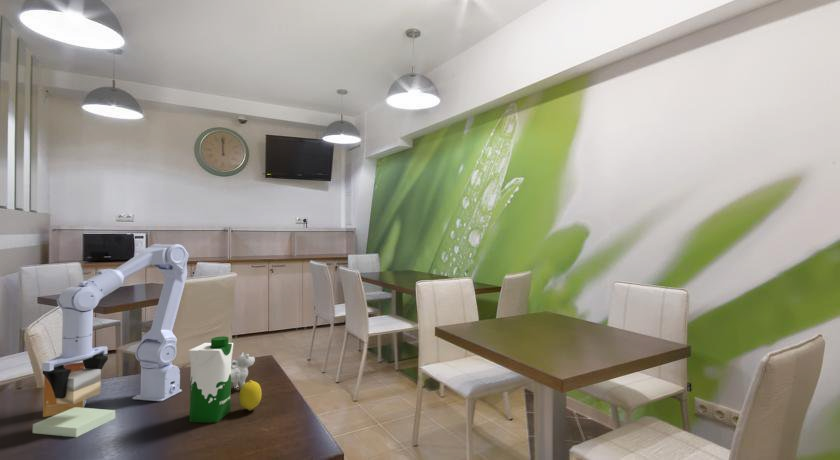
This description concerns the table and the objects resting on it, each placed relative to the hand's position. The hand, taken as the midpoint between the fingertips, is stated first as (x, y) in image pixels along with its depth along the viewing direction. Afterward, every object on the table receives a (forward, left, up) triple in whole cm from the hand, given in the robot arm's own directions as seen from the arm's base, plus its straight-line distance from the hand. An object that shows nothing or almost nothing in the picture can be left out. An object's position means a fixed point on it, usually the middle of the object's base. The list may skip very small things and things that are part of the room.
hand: (76, 391), depth 100 cm
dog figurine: (-24, -27, -8) cm, 37 cm away
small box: (+11, -7, -8) cm, 16 cm away
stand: (0, 0, -8) cm, 8 cm away
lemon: (-37, -15, -8) cm, 41 cm away
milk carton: (-29, -10, -8) cm, 32 cm away
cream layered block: (-1, 0, -2) cm, 2 cm away
